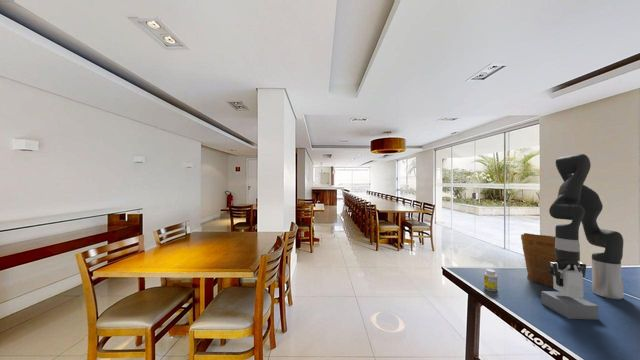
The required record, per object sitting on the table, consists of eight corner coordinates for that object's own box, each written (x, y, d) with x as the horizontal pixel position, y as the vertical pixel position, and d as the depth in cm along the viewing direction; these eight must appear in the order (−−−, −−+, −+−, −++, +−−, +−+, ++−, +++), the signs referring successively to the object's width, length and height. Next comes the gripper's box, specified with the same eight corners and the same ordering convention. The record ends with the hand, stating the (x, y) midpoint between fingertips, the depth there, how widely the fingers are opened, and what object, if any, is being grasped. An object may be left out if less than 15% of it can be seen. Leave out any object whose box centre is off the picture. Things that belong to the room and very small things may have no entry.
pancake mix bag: (566, 293, 116) (566, 239, 116) (520, 279, 133) (520, 231, 133) (571, 290, 119) (571, 237, 119) (526, 276, 136) (525, 230, 136)
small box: (584, 298, 95) (583, 273, 95) (568, 296, 96) (567, 272, 96) (567, 289, 103) (567, 266, 103) (552, 288, 104) (552, 265, 104)
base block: (568, 304, 105) (567, 291, 105) (598, 320, 93) (598, 305, 93) (541, 303, 106) (541, 291, 106) (568, 319, 94) (568, 304, 94)
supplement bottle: (484, 286, 123) (484, 267, 123) (497, 289, 120) (497, 270, 120) (484, 289, 119) (483, 270, 119) (497, 292, 115) (497, 273, 116)
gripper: (574, 246, 103) (575, 282, 103) (542, 245, 104) (542, 282, 104) (593, 251, 96) (594, 290, 95) (558, 250, 96) (559, 289, 96)
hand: (567, 285), depth 100 cm, fingers closed on small box, 6 cm apart
